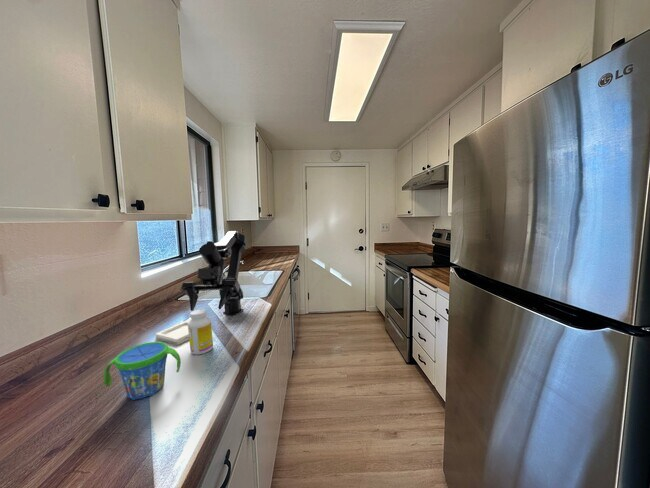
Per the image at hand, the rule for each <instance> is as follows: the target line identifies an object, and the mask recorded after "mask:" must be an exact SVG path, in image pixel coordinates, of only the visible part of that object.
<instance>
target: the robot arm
mask: <svg viewBox="0 0 650 488" xmlns="http://www.w3.org/2000/svg"><path fill="white" fill-rule="evenodd" d="M247 246H248V239H247V237H246V235H244V234H242V233H240V232H239V231H238V230H230V231H227V232H226V234H225V236H223V238H221V240H220V241H218V242H214V241H213V240H209V241H207V242H206V243H204V244H203V245H201V247H199V249H198V252H199V254H200V256H201V257H202V259H203V260H204V262H205V263H206V264H208V265H207V268H198V269H197V277H196V278H197V279H200V283H201V284H197V282H195V281H185V282H182V284H181V286H180V290H181V291H182V292H183V294H185V295H186V296H187V297H188V298H189V306H190V312H192V311H195V308H196V305H197V302H198V299H199V293H200V291H216V290H217V291H219V296H220V299H219V303H218V308H217V309H218V310H221V309H222V308H223V306H224V311H223V312H222V313H223V314H226V315H229V316H231V315H232V316H235V315H237V314H239V313H241V312H243V311H244V308H242V306H241V303H242V302H241V300H242V299H243V300H244V291H243V290H242V287H241V284H240V282H239V281H238V278H239V271H240V265H241V260H242V259H241V258H242V254H243V253H244V251H246V248H247ZM228 258H229V263H228V264H229V265H228V268H227V269H228V270H227V276H226V277H225V278H224V271H225V268H226V260H225V259H228Z"/></svg>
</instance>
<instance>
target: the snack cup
mask: <svg viewBox="0 0 650 488" xmlns="http://www.w3.org/2000/svg"><path fill="white" fill-rule="evenodd" d="M168 354H169V355H171V356H172V357H173V358H174V359H175V360H176V366H177V367H176V373H179V371H180V368H181V357H180V354H179V352H178V351H177V350H176V349H175V348H172V347H170V346H168V344H167V342H164V341H151V342H145V343H141V344H138V345H134V346H132V347H130V348H127V349H125V350H123V351H122V352H121V353H119V354H118V355H117V356H115V358H113V359H112V360H111V361H110V362H109V363H108V364H107V366H106V367H105V368H104V370H103V371H104V373H103V382H104V385H105V386H106V387H110V386H111V385H112V383H113V378H112V375H111V373H110V368H111V366H112V364H114V365H115V368H117V370H118V372H119V376H120V378H121V381H122V385H123V388H124V390H125V391H124V392H125V393H126V395H127V397H128V399H131V400H133V401H134V400H140V399H143V398H144V399H145V398H146V397H151V396H152V397H153V395H155V393H157V392H159V391H160V389H162V387H164V385H165V377H166V365H167V358H168Z"/></svg>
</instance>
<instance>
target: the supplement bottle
mask: <svg viewBox="0 0 650 488" xmlns="http://www.w3.org/2000/svg"><path fill="white" fill-rule="evenodd" d="M207 314H208V313H207V309H203V308H202V309H196V310H195V309H194V310H193V311H190V312H189V315H190V320H188V321H189V323H188V332H189V341H188V342H189V348H190V353H191V354H193V355H203V354H207V353H208V352H210V351H211V350H212V349H213V347H214V340H213V330H212V320H211V318H210V317H209V316H207Z"/></svg>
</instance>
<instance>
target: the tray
mask: <svg viewBox="0 0 650 488" xmlns="http://www.w3.org/2000/svg"><path fill="white" fill-rule="evenodd" d="M189 321H190V320H185V321H183V322H180V323H178V324H175V325H173V326H171V327H168V328H166V329H162V330H161V331H159V332H156V333H155V339H156V340H158V341H160V342H164V343H169V344H172V345H175V346H179V345H180V344H182V343H185V342H187V341H188V340H189V332H188V323H189Z"/></svg>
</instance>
